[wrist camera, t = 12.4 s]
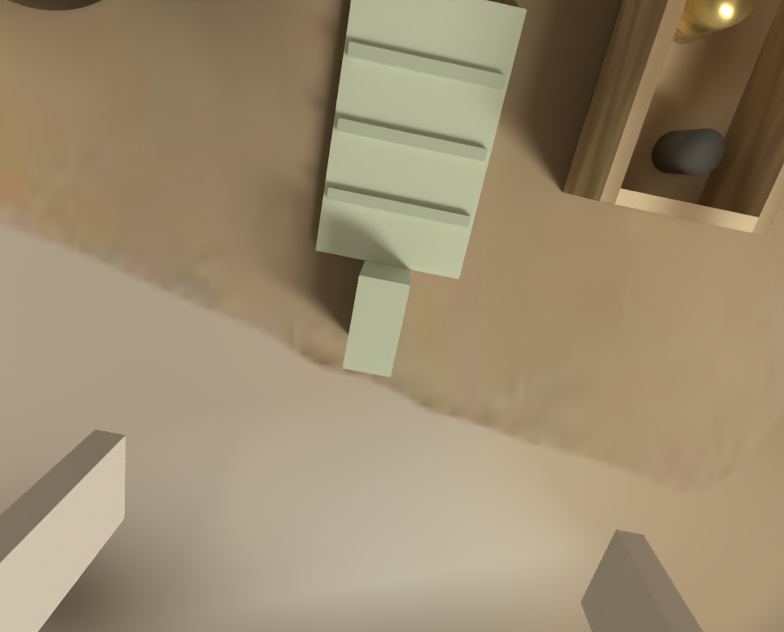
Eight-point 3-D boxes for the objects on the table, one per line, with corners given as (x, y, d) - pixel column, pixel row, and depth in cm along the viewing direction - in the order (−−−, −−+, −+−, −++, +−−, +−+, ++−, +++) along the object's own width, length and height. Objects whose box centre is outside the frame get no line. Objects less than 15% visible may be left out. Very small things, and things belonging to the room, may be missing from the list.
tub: (562, 192, 29) (599, 201, 24) (652, -96, 24) (726, -172, 19) (697, 220, 30) (766, 235, 24) (813, -59, 25) (935, -122, 19)
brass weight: (651, 37, 26) (687, 20, 22) (672, -26, 25) (713, -53, 21) (702, 48, 26) (745, 33, 23) (725, -14, 25) (774, -39, 22)
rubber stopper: (645, 168, 28) (672, 170, 25) (660, 127, 27) (690, 124, 24) (683, 176, 28) (713, 179, 25) (699, 135, 27) (733, 133, 25)
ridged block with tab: (306, 329, 33) (289, 358, 28) (357, -23, 26) (346, -63, 21) (437, 354, 33) (442, 387, 29) (522, 14, 26) (548, -17, 21)
